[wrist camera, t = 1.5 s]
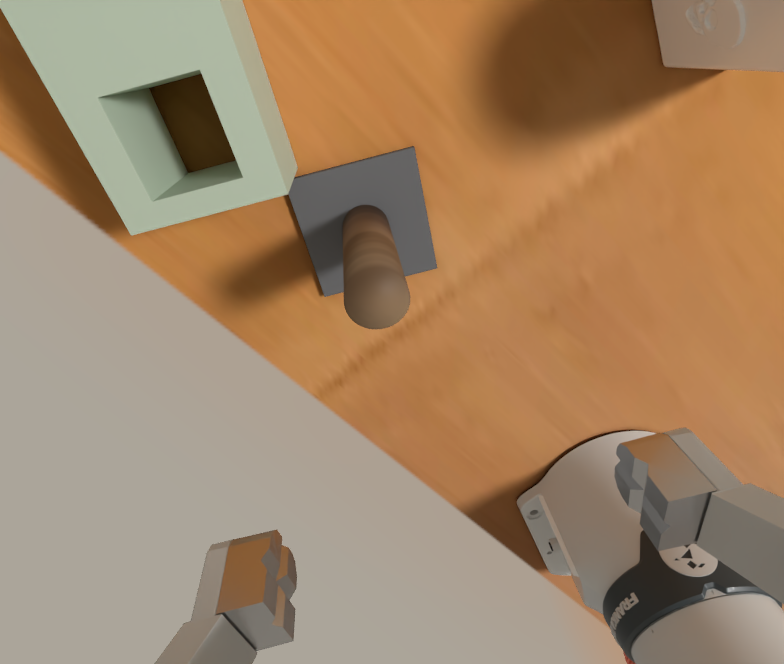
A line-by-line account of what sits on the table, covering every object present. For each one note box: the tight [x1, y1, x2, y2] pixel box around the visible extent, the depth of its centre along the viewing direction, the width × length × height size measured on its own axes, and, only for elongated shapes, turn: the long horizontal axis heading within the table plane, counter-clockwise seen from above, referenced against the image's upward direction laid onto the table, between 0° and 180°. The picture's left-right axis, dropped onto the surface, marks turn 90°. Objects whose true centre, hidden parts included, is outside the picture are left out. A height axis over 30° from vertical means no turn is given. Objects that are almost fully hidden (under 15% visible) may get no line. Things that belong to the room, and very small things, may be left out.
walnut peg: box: [342, 205, 410, 329], centre depth 24 cm, size 3×3×10 cm
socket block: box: [0, 0, 298, 235], centre depth 20 cm, size 16×8×6 cm, turn 13°
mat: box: [288, 146, 437, 297], centre depth 29 cm, size 8×8×1 cm
